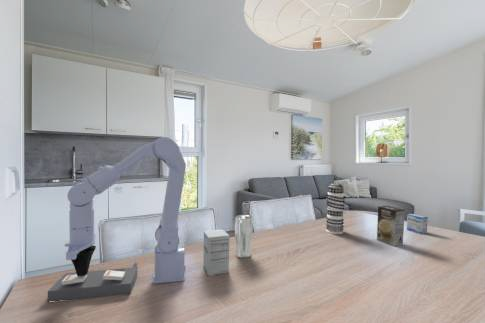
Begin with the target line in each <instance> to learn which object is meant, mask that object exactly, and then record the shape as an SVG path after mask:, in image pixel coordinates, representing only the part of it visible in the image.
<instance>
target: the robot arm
mask: <svg viewBox="0 0 485 323" xmlns="http://www.w3.org/2000/svg"><path fill="white" fill-rule="evenodd" d="M156 158H158V159H160V160H161V161H163V163H164V164H165V165H166V167H167V168H168V169H169V170H168V175H167V177H168V178H167V181H166V182H167V184H166V188H165V189H166V190H165V196H164V202H163V208H162V214H161V218H160V221H159V224H158V227H157V229H156V230H155V231H154V238H155V240H156V242H157V244H156V246H155V247H154V272H153V276H152V279H151V284H162V283H173V282H175V283H176V282H183V281H185V271H186V264H185V247H180V246H179V245H180V236H179V223H178V222H179V221H178V220H179V219H178V218H179V214H180V213H179V212H180V206H181V199H182V192H183V187H184V180H185V174H186V168H187V167H186V165H187V164H186V161H185V159H184V157H183V154H182V153H181V150H180V146H179V145H178V144H177V143H176V142H175V141H174V140H173V138H170V137H168V136H162V137H159V138H156V139H155V140H154V141H152V142H149V143H147V144H145V145H143V146H140V147H139V148H137V149H136V150H134V151H133V152H131V153H130V154H129V155H128V156H126V157H125V158H123V159H122V160H120V161H118V162H117V163H116V164H114V165H109V164H105V165H104V166H102V165H100V166H98V167H97V168H96V171H95V172H93V173H92V174H90V175H88V176H87V177H85V176H84V177H82V178H81V179H80V181H81V182H78V183H77V184H73V186H71V188H70V189H69V190H68V191H67V199H68V201H69V217H68V218H69V222H68V223H69V241H67V242H65V243H64V247H66V248H67V251H66V252H65V260H66V261H71V262H72V265H73V266H74V267H73V268H74V270H75V272H76V273H77V276H85V275H86V274H87V273H88V271H89V268H90V264H91V260H92V257H93V255H94V252H95V251H96V249H97V247H96V245H95V244H96V233H95V208H94V199H93V198H94V197H95V196H97V195H101V194H102V193H104V192H105V191H106V190H108V189H109V188H111V187H113V186H114V185H115V184H117V183H119V181H120V177H121V175H122V174H124V173H125V172H126V171H128V170H129V169H131V168H133V167H134V166H136V165H138V164H139V163H141V162H142V161H144V160H149V159H156Z"/></svg>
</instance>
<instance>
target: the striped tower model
mask: <svg viewBox="0 0 485 323" xmlns="http://www.w3.org/2000/svg"><path fill="white" fill-rule="evenodd" d="M327 189H328V190H327V193H326V196H325V197H326V209H327V214H326V224H325V225H326V226H325V231H326V233H329V234H332V235H333V234H334V235H342V234H344V227H345V226H344V224H345V222H344V220H345V219H344V212H345V202H346V198H345V197H344V196H345V193H344V189H345V186H344V185H343V184H341V183H338V182H337V183H334V182H332V183H330V184H329V185H328V186H327Z"/></svg>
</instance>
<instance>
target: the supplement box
mask: <svg viewBox="0 0 485 323" xmlns="http://www.w3.org/2000/svg"><path fill="white" fill-rule="evenodd" d="M203 268H204V269H205V271H206V274H207V275H208V276H215V275H219V274H225V273H229V272H230V234H229V233H227V232H226V231H225V229H221V228H220V229H211V230H204V231H203Z"/></svg>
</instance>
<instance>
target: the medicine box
mask: <svg viewBox="0 0 485 323" xmlns="http://www.w3.org/2000/svg"><path fill="white" fill-rule="evenodd" d="M406 217H407V220H406V230H407V231H409V232H412V231H413V233H416V234H420V235H424V234H427V233H428V221H429V220H428V217H427V216H423V215H419V214H414V213H408V214H407V216H406Z"/></svg>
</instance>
